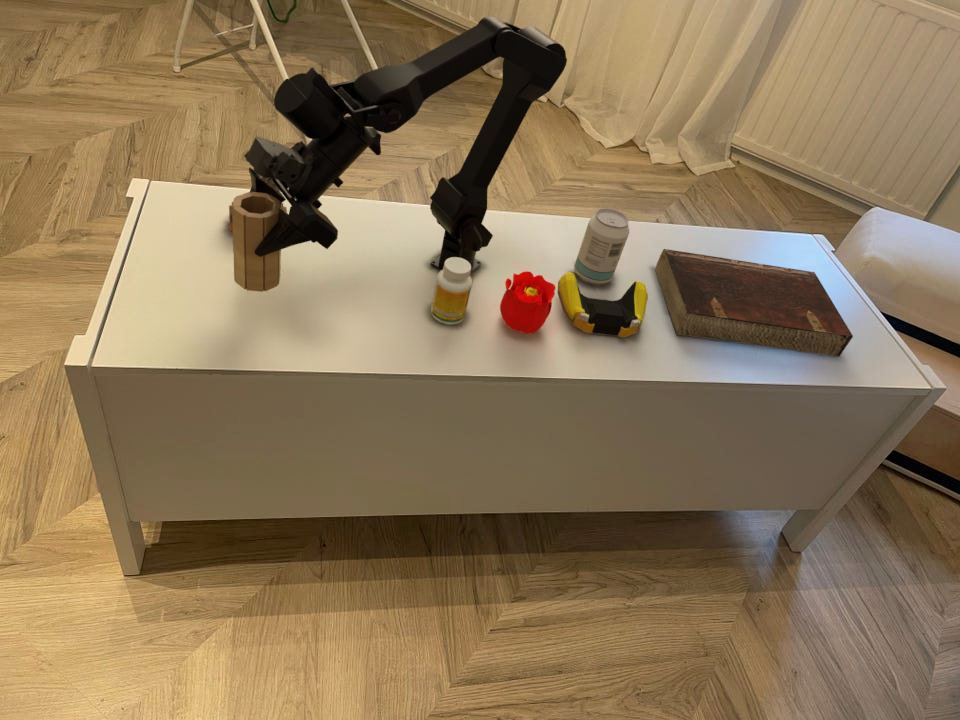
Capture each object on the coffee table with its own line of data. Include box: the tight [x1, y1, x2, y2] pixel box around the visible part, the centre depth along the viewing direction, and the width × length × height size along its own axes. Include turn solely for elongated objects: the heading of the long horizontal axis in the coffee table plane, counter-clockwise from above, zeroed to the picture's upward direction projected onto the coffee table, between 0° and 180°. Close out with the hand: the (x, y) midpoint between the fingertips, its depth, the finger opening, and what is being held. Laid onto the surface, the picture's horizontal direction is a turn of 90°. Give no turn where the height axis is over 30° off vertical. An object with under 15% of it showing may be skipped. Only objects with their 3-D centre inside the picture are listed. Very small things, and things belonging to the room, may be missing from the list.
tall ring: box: [231, 191, 282, 293], centre depth 105 cm, size 6×6×12 cm
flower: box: [499, 270, 556, 335], centre depth 119 cm, size 8×8×8 cm
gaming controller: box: [557, 271, 649, 339], centre depth 125 cm, size 15×6×10 cm
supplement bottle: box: [430, 257, 473, 326], centre depth 117 cm, size 5×5×10 cm
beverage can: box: [573, 208, 630, 286], centre depth 131 cm, size 7×7×12 cm
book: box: [654, 248, 854, 358], centre depth 134 cm, size 29×19×5 cm, turn 91°
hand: (247, 240), depth 104 cm, fingers closed on tall ring, 6 cm apart
